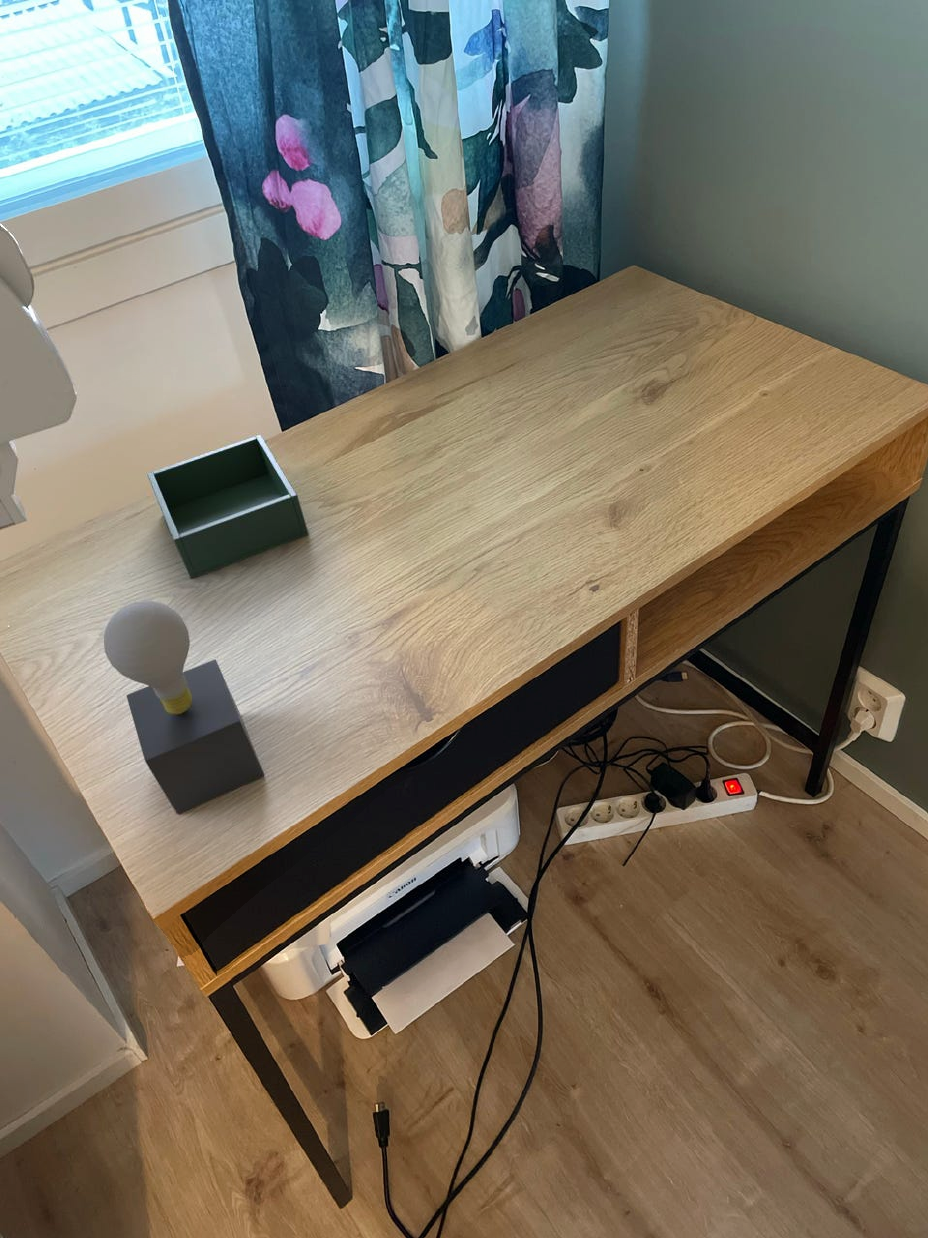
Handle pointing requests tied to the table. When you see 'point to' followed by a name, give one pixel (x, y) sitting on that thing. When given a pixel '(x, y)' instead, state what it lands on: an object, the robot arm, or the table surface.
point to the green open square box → (228, 505)
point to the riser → (195, 740)
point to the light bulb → (151, 650)
